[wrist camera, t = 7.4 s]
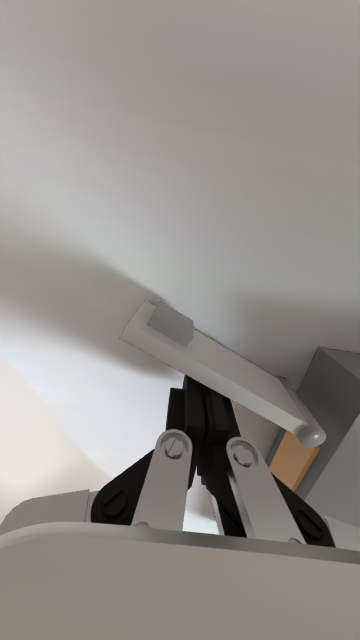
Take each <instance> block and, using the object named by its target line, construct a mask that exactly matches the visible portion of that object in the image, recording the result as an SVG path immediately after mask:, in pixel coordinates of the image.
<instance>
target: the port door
mask: <svg viewBox="0 0 360 640" xmlns="http://www.w3.org/2000/svg"><path fill="white" fill-rule="evenodd" d="M119 339H121V340H123V341H125V342H127V343H129V344H130V345H132V346H134V347H136V348H138V349H140V350H141V351H143V352H145V353H147V354H149V355H151V356H152V357H154V358H156V359H158V360H160V361H162V362H163V363H165V364H167V365H169V366H171V367H173V368H174V369H176V370H178V371H180V372H182V373H184V374H185V375H187V376H189V377H191V378H193V379H195V380H196V381H198V382H200V383H202V384H204V385H206V386H207V387H209V388H211V389H213V390H215V391H216V392H218V393H220V394H222V395H224V396H226V397H227V398H229V399H231V400H233V401H235V402H237V403H238V404H240V405H242V406H244V407H246V408H248V409H249V410H251V411H253V412H255V413H257V414H259V415H260V416H262V417H264V418H266V419H268V420H270V421H271V422H273V423H275V424H277V425H279V426H281V427H282V428H284V429H286V430H288V431H290V432H292V433H293V434H295V435H296V436H297V438H298V440H299V441H300V443H301V444H302V445H303V446H305V447H316V446H319V445H321V444H322V443H323V442H324V441H325V440H326V434H325V432H324V431H323V429H322V428H321V427H320V425H319V424H318V422H317V421H316V420H315V418H314V417H313V415H312V414H311V413H310V411H309V410H308V409H307V407H306V406H305V404H304V403H303V402H302V400H301V399H300V398H299V396H298V395H297V393H296V392H295V391H294V389H293V388H292V386H291V385H290V384H289V382H288V381H287V380H286V379H285V378H283V377H274V376H272V375H271V374H269V373H267V372H266V371H264V370H262V369H261V368H259V367H257V366H256V365H254V364H252V363H251V362H249V361H247V360H246V359H244V358H242V357H241V356H239V355H237V354H235V353H234V352H232V351H230V350H229V349H227V348H225V347H224V346H222V345H220V344H219V343H217V342H215V341H214V340H212V339H210V338H209V337H207V336H205V335H204V334H202V333H200V332H199V331H197V330H195V329H193V321H192V320H191V319H189V318H187V317H186V316H184V315H182V314H181V313H179V312H177V311H176V310H174V309H172V308H171V307H169V306H167V305H166V304H164V303H162V302H161V301H160V302H159V304H158V305H157V307H156V306H155V305H153V304H151V303H150V302H148V301H146V300H145V301H144V303H143V304H142V305H141V306H140V308H139V309H138V310H137V312H136V313H135V314H134V316H133V317H132V318H131V320H130V321H129V322H128V324H127V326H126V327H125V329H124V331H123V333H122V334H121V336H120V338H119Z"/></svg>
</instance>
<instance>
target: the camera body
mask: <svg viewBox="0 0 360 640" xmlns="http://www.w3.org/2000/svg"><path fill="white" fill-rule="evenodd" d="M297 395H298V396H299V398H300V399H301V400H302V402H303V403H304V404H305V406H306V407H307V409H308V410H309V411H310V413H311V414H312V415H313V417H314V418H315V420H316V421H317V422H318V424H319V425H320V427H321V428H322V429H323V431H324V432H325V434H326V440H325V441H324V442H323V443H322V444H321V445H319V446H316V447H305V446H303V445H302V444H301V443H300V441H299V440H298V438H297V436H296V435H295V434H293V433H292V432H290V431H288V430H286V429H284V428H282V427H281V430H280V432H279V434H278V436H277V438H276V440H275V443H274V445H273V447H272V449H271V451H270V453H269V456H268V458H267V460H266V464H267V466H268V468H269V470H270V472H271V473H272V474H273V475H275V476H276V477H277V478H278V479H279V480H280V481H282V482H283V483H284V484H285V485H286V486H287V487H289V488H290V489H291V490H292V491H293V492H294V493H295V494H297V495H298V496H299V497H300V498H301V499H302V500H304V501H305V502H306V503H307V504H308V505H309V506H311V507H312V508H313V509H314V510H315V511H316V512H317V513H318V514H319V515H320V516H321V517H323V518H324V517H325V515H326V516H329V517H332V518H334V519H337V520H340V521H342V522H345V523H348V524H350V525H353V526H356V527H358V528H360V353H354V352H348V351H341V350H335V349H328V348H322V347H318V349H317V351H316V354H315V356H314V358H313V360H312V362H311V364H310V367H309V369H308V371H307V373H306V375H305V377H304V380H303V382H302V384H301V386H300V388H299V390H298V393H297Z"/></svg>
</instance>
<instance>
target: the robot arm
mask: <svg viewBox="0 0 360 640" xmlns="http://www.w3.org/2000/svg"><path fill="white" fill-rule="evenodd" d="M196 466H197V475H198V476H201V482H202V485H206V488H207V489H208V490H209V492H210V493H211V494H212V503H213V508H214V512H215V517H216V521H217V526H218V530H219V535H215V534H205V533H196V532H186V531H182V529H183V521H184V512H185V504H186V496H187V491H188V489H189V488H190V487H191V486H192V482H193V478H194V474H195V470H196ZM0 640H360V528H358V527H356V526H353V525H350V524H348V523H345V522H342V521H340V520H337V519H334V518H332V517H329V516H326V515H325V517H324V518H323V517H321V516H320V515H319V514H318V513H317V512H316V511H315V510H314V509H313V508H312V507H311V506H309V505H308V504H307V503H306V502H305V501H304V500H302V499H301V498H300V497H299V496H298V495H297V494H295V493H294V492H293V491H292V490H291V489H290V488H289V487H287V486H286V485H285V484H284V483H283V482H282V481H280V480H279V479H278V478H277V477H276V476H275V475H273V474H272V473H271V472H270V470H269V468H268V466H267V464H266V462H265V460H264V458H263V456H262V454H261V452H260V451H259V449H258V448H257V447H256V446H255V445H254V444H253V443H252V442H251V441H249V440H248V439H245V438H243V437H241V436H240V432H239V429H238V425H237V422H236V418H235V415H234V411H233V408H232V404H231V401H230V399H229V398H227V397H226V396H224V395H222V394H220V393H218V392H216V391H215V390H213V389H211V388H209V387H207V386H206V385H204V384H202V383H200V382H198V381H196V380H195V379H193V378H191V377H189V376H187V375H185V376H184V382H183V388H182V389H178V388H171V389H170V396H169V404H168V412H167V421H166V430H165V432H163V433H162V434H161V435H160V436H159V438H158V440H157V443H156V446H155V449H153V450H152V451H151V452H149V453H148V454H147V455H145V456H144V457H143V458H141V459H140V460H139V461H137V462H136V463H135V464H133V465H132V466H130V467H129V468H128V469H126V470H125V471H124V472H122V473H121V474H120V475H118V476H117V477H116V478H114V479H113V480H112V481H110V482H109V483H108V484H106V485H105V486H104V487H103V488H102V489H101V490H100V491H94V492H89V489H88V490H82V491H75V492H69V493H63V494H57V495H51V496H44V497H38V498H32V499H29V500H26V501H23V502H22V503H20V504H19V505H17V506H16V507H14V508H13V509H12V510H11V511H10V512H9V513H8V515H6V517H5V518H4V520H3V522H2V523H1V525H0Z"/></svg>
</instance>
